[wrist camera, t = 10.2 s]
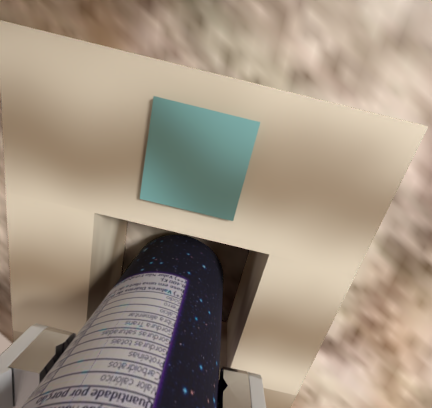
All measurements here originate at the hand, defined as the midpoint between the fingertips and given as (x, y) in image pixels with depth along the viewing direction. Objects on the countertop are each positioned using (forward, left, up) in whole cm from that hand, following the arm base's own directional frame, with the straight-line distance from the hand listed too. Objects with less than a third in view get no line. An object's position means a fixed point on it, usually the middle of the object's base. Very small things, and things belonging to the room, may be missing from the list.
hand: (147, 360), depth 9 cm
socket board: (-2, 0, -7) cm, 7 cm away
